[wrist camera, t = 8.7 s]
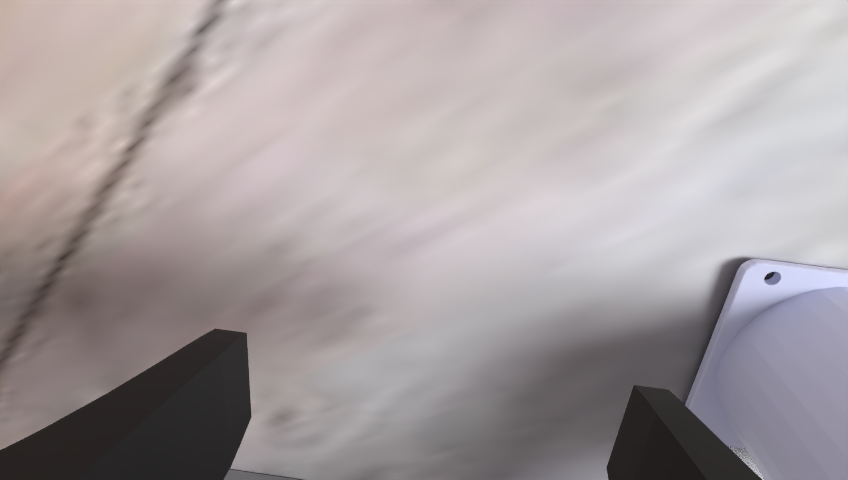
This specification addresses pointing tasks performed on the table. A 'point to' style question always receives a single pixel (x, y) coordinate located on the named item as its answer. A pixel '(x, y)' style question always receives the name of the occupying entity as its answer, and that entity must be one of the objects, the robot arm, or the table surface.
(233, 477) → the dish rack
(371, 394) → the table surface
